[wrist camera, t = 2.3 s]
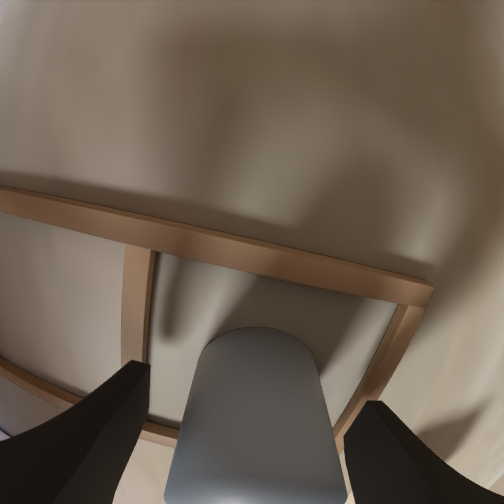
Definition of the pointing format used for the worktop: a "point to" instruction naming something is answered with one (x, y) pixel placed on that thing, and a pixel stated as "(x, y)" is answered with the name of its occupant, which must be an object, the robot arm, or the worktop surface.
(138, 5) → the worktop surface
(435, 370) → the worktop surface
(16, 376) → the board
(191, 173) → the worktop surface
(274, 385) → the grey rounded cylinder
